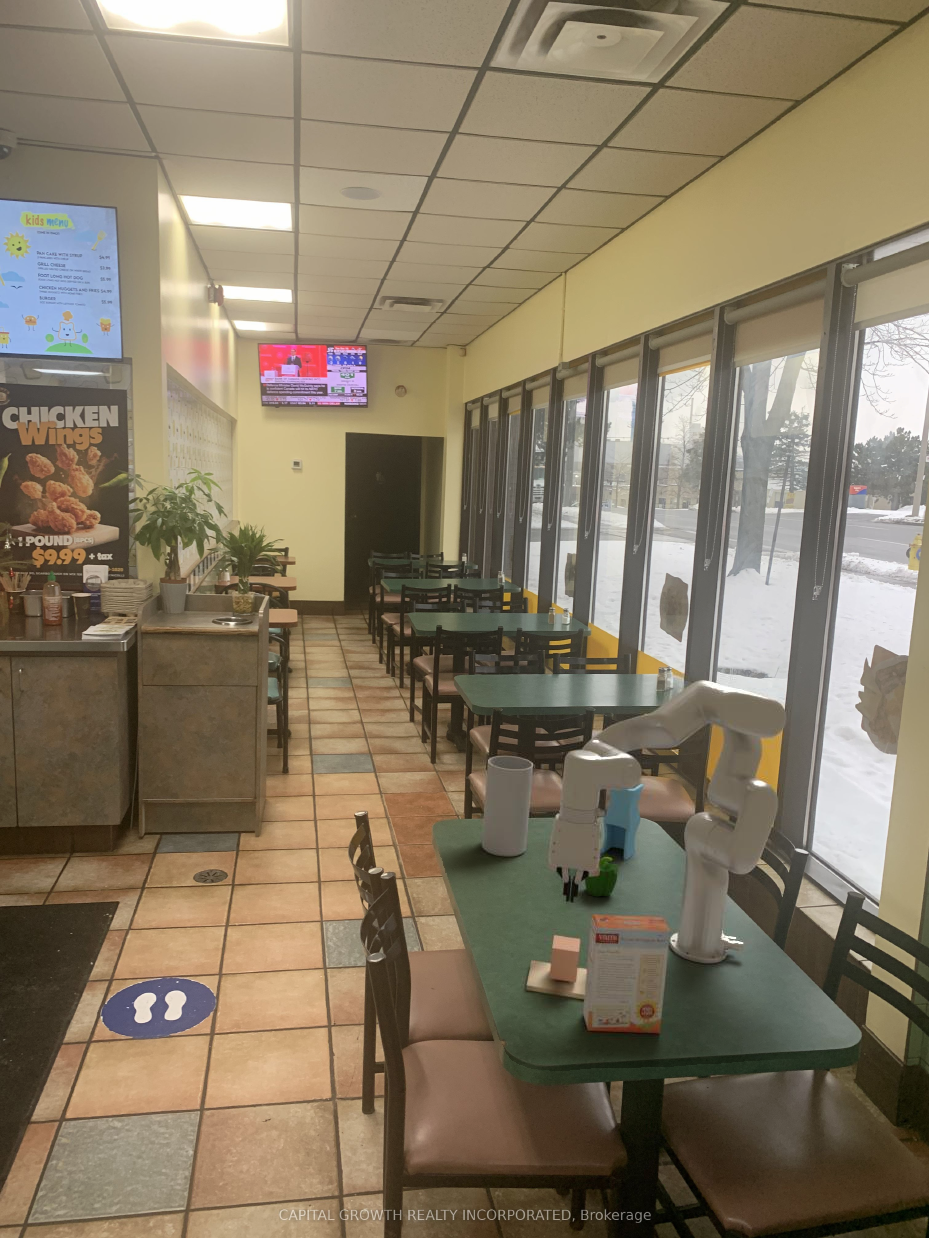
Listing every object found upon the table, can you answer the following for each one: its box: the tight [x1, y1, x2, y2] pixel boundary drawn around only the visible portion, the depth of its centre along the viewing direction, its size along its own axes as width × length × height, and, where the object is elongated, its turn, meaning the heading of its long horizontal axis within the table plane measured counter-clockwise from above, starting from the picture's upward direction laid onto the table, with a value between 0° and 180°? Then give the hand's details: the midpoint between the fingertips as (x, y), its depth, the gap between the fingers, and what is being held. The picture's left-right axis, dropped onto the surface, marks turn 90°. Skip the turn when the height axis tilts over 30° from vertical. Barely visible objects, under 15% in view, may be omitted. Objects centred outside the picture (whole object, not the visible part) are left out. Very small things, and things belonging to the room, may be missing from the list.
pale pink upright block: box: [550, 934, 581, 982], centre depth 183 cm, size 5×5×7 cm
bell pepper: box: [584, 856, 619, 897], centre depth 226 cm, size 8×8×10 cm
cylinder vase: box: [481, 755, 534, 857], centre depth 249 cm, size 12×12×25 cm
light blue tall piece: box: [600, 783, 644, 861], centre depth 253 cm, size 8×8×20 cm
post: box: [525, 960, 587, 1000], centre depth 183 cm, size 14×10×8 cm
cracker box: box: [582, 914, 671, 1034], centre depth 169 cm, size 14×6×21 cm, turn 92°
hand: (569, 899), depth 181 cm, fingers closed
